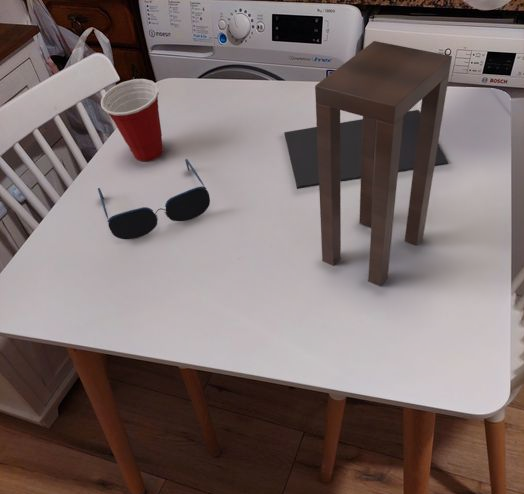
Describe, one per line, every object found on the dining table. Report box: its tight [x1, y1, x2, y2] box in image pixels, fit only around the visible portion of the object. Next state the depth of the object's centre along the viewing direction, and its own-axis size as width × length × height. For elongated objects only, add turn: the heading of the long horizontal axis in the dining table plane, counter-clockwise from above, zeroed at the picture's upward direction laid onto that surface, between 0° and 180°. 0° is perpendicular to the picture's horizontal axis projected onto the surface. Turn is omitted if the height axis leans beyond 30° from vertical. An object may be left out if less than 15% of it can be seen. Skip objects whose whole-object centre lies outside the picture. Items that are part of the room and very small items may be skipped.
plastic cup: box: [100, 78, 164, 162], centre depth 96 cm, size 11×11×12 cm
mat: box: [283, 109, 449, 189], centre depth 93 cm, size 26×18×1 cm
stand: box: [314, 40, 453, 287], centre depth 67 cm, size 12×10×26 cm
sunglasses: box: [97, 158, 211, 241], centre depth 89 cm, size 17×15×5 cm
